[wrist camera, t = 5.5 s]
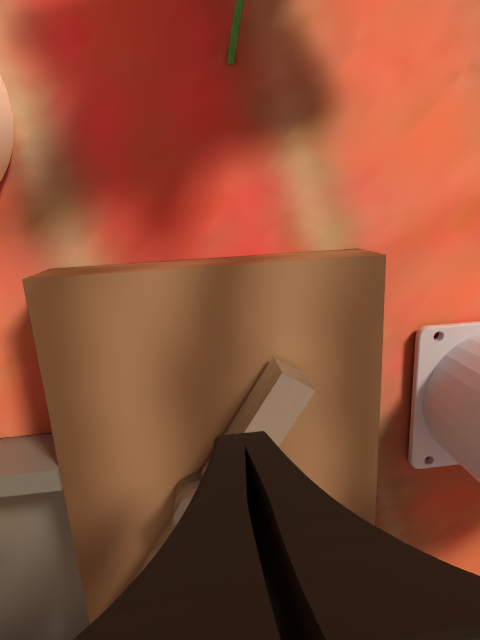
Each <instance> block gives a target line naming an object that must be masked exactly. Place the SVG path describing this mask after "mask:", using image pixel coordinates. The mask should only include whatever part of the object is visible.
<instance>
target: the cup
mask: <svg viewBox="0 0 480 640" xmlns="http://www.w3.org/2000/svg"><path fill="white" fill-rule="evenodd" d="M13 140H14V123H13V115H12V109H11V105H10V100H9V97H8V94H7V91H6V88H5V85H4V83H3V80H2V78H1V76H0V182H1V180H2V178H3V176H4V174H5V172H6V170H7V167H8V165H9V162H10V158H11V154H12V149H13Z"/></svg>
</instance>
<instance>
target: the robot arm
mask: <svg viewBox="0 0 480 640" xmlns="http://www.w3.org/2000/svg"><path fill="white" fill-rule="evenodd" d="M436 332H439V336H438V337H437V338H436V339H434V334H435V333H436ZM429 456H430V457H429ZM427 457H429V459H428V460H425V459H426V458H427ZM408 461H409V463H410V464H411V465H412V467H413V468H415V469H424V468H433V467H442V466H451V465H459V464H460V465H461V466H462V467H463V468H464V469H465V470H466V471H467V472H468V473H469V474H470V475H471V476H473V477H474V478H475V479H476V480H477V481H478V482H479V483H480V321H477V322H465V323H453V324H441V325H429V326H423V327H421V328H420V329H419V330H418V331H417V333H416V339H415V356H414V372H413V388H412V405H411V421H410V438H409V454H408ZM73 640H480V576H478V575H476V574H473V573H471V572H468V571H465V570H463V569H460V568H458V567H455V566H453V565H450V564H448V563H446V562H444V561H442V560H439V559H437V558H435V557H433V556H431V555H429V554H426V553H424V552H422V551H420V550H418V549H416V548H414V547H412V546H410V545H408V544H406V543H404V542H402V541H400V540H398V539H397V538H395V537H393V536H391V535H389V534H388V533H386V532H384V531H383V530H381V529H379V528H377V527H376V526H374V525H372V524H370V523H369V522H367V521H366V520H364V519H362V518H361V517H359V516H358V515H356V514H355V513H353V512H352V511H351V510H349V509H348V508H346V507H345V506H343V505H342V504H340V503H339V502H338V501H336V500H335V499H334V498H332V497H331V496H330V495H328V494H327V493H326V492H325V491H324V490H322V489H321V488H320V487H319V486H318V485H317V484H315V483H314V482H313V481H312V480H311V479H310V478H309V477H308V476H307V475H305V474H304V473H303V472H302V471H301V470H300V469H299V468H298V467H297V466H296V465H295V464H294V463H293V462H292V461H291V460H290V459H289V458H288V457H287V456H286V455H285V453H284V452H283V451H282V450H281V449H280V448H279V447H278V446H277V445H276V443H275V442H274V441H273V440H272V439H271V438H270V436H269V435H268V434H267V433H266V432H265V431H258V432H248V433H238V434H228V435H218V436H217V437H216V438H215V439H214V446H213V450H212V453H211V457H210V459H209V462H208V465H207V467H206V470H205V472H204V474H203V477H202V479H201V482H200V484H199V486H198V488H197V490H196V492H195V493H194V495H193V497H192V499H191V501H190V503H189V505H188V507H187V508H186V510H185V512H184V514H183V515H182V517H181V519H180V520H179V522H178V523H177V525H176V526H175V528H174V529H173V531H172V532H171V534H170V535H169V537H168V538H167V540H166V541H165V542H164V544H163V545H162V546H161V547H160V549H159V550H158V551H157V553H156V554H155V555H154V557H153V558H152V559H151V561H150V562H149V563H148V564H147V566H146V567H145V568H144V569H143V570H142V572H141V573H140V574H139V575H138V576H137V577H136V578H135V579H134V580H133V581H132V583H131V584H130V585H129V586H128V587H127V588H126V589H125V590H124V591H123V592H122V593H121V594H120V596H119V597H118V598H117V599H116V600H115V601H114V602H113V603H112V604H111V605H110V606H109V607H108V608H107V609H106V610H105V611H104V612H103V613H102V614H101V615H100V616H99V617H98V618H97V619H95V620H94V621H93V622H92V623H91V624H90V625H89V626H88V627H86V628H85V629H84V630H83V631H82V632H81V633H80V634H79V635H78V636H76V637H75V638H74V639H73Z"/></svg>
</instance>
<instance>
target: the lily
mask: <svg viewBox="0 0 480 640" xmlns="http://www.w3.org/2000/svg"><path fill="white" fill-rule="evenodd" d="M243 5H244V0H236V2H235V8H234V15H233V22H232V28H231V35H230V43H229V51H228V58H227V63H228V64H230V65H232V64H234V60H235V53H236V47H237V40H238V34H239V28H240V22H241V16H242V10H243Z"/></svg>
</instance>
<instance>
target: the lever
mask: <svg viewBox="0 0 480 640" xmlns="http://www.w3.org/2000/svg"><path fill="white" fill-rule="evenodd" d="M315 391H316V390H315V389H314V387H313V386H312V384H311V383H310V381H309V380H308V378H307V377H306V375H305V374H304V372H302V371H300V370H298V369H296V368H294V367H293V366H291V365H289V364H287V363H285V362H283V361H281V360H280V359H278V358H276V357H274V356H273V357H272V359H271V361H270V362H269V364H268V365H267V367H266V369H265V370H264V372H263V373H262V375H261V377H260V378H259V380H258V381H257V383H256V385H255V386H254V388H253V389H252V391H251V393H250V394H249V396H248V397H247V399H246V401H245V402H244V404H243V405H242V407H241V409H240V410H239V412H238V413H237V415H236V417H235V418H234V420H233V421H232V423H231V425H230V426H229V428H228V429H227V431H226V432H225V434H224V435H228V434H238V433H248V432H258V431H265V432H266V433H267V434H268V435H269V436H270V438H271V439H272V440H273V441H274V442H275V443H276V445H277V446H278V447H279V446H280V444H281V443H282V441H283V440H284V438H285V437H286V435H287V434H288V432H289V431H290V429H291V428H292V426H293V425H294V423H295V422H296V420H297V418H298V417H299V415H300V414H301V412H302V411H303V409H304V408H305V406H306V405H307V403H308V402H309V400H310V399H311V397H312V396H313V394H314V393H315ZM210 457H211V456H210ZM209 459H210V458H209ZM208 462H209V460H208V461H207V463H206V464H205V466H204V468H203V469H202V471H197V472H194V473H192V474H189V475H188V476H186V477H185V478H184V479H183V480H182V481H181V482H180V483H179V485H178V487H177V489H176V493H175V503H174V516H173V517H172V519H171V520H170V522H169V524H168V525H167V527H166V528H165V530H164V532H163V533H162V535H161V536H160V538H159V540H158V541H157V543H156V544H155V546H154V548H153V549H152V551H151V552H150V554H149V556H148V557H147V559H146V560H145V562H144V564H143V565H142V567H141V568H140V570H139V572H138V573H137V575H136V576H135V578H136V577H137V576H138V575H139V574H140V573H141V572H142V570H143V569H144V568H145V567H146V566H147V564H148V563H149V562H150V561H151V559H152V558H153V557H154V555H155V554H156V553H157V551H158V550H159V549H160V547H161V546H162V545H163V544H164V542H165V541H166V540H167V538H168V537H169V535H170V534H171V532H172V531H173V529H174V528H175V526H176V525H177V523H178V522H179V520H180V519H181V517H182V515H183V514H184V512H185V510H186V508H187V507H188V505H189V503H190V501H191V499H192V497H193V495H194V493H195V492H196V490H197V488H198V486H199V484H200V482H201V479H202V477H203V474H204V472H205V470H206V467H207V465H208ZM135 578H134V579H135Z"/></svg>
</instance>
